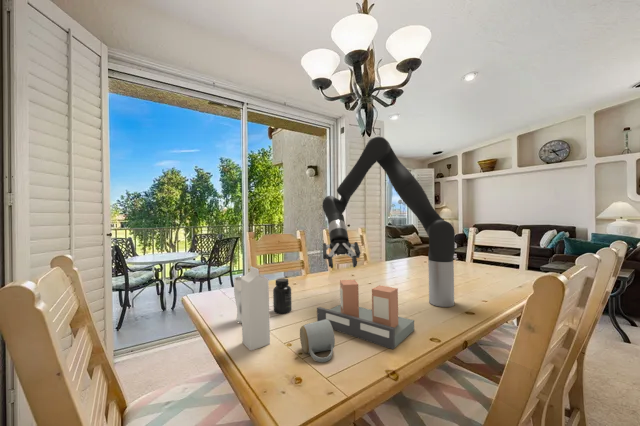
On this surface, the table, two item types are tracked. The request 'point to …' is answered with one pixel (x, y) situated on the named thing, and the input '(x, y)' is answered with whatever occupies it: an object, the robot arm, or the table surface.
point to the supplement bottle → (282, 297)
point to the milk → (255, 310)
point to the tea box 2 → (385, 305)
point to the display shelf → (367, 326)
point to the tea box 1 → (349, 297)
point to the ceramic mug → (317, 339)
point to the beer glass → (238, 298)
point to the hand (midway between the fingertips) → (343, 266)
